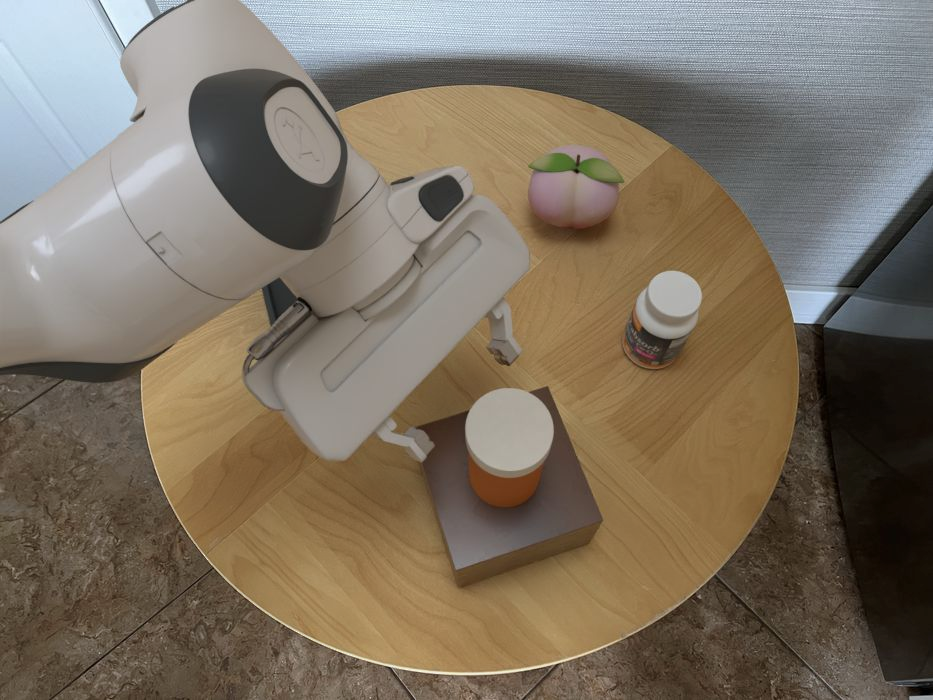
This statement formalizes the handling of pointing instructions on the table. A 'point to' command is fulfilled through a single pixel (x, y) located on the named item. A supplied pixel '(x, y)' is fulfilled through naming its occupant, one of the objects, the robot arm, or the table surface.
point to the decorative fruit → (573, 187)
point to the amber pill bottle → (507, 445)
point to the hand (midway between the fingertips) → (469, 404)
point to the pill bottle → (662, 320)
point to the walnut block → (513, 528)
